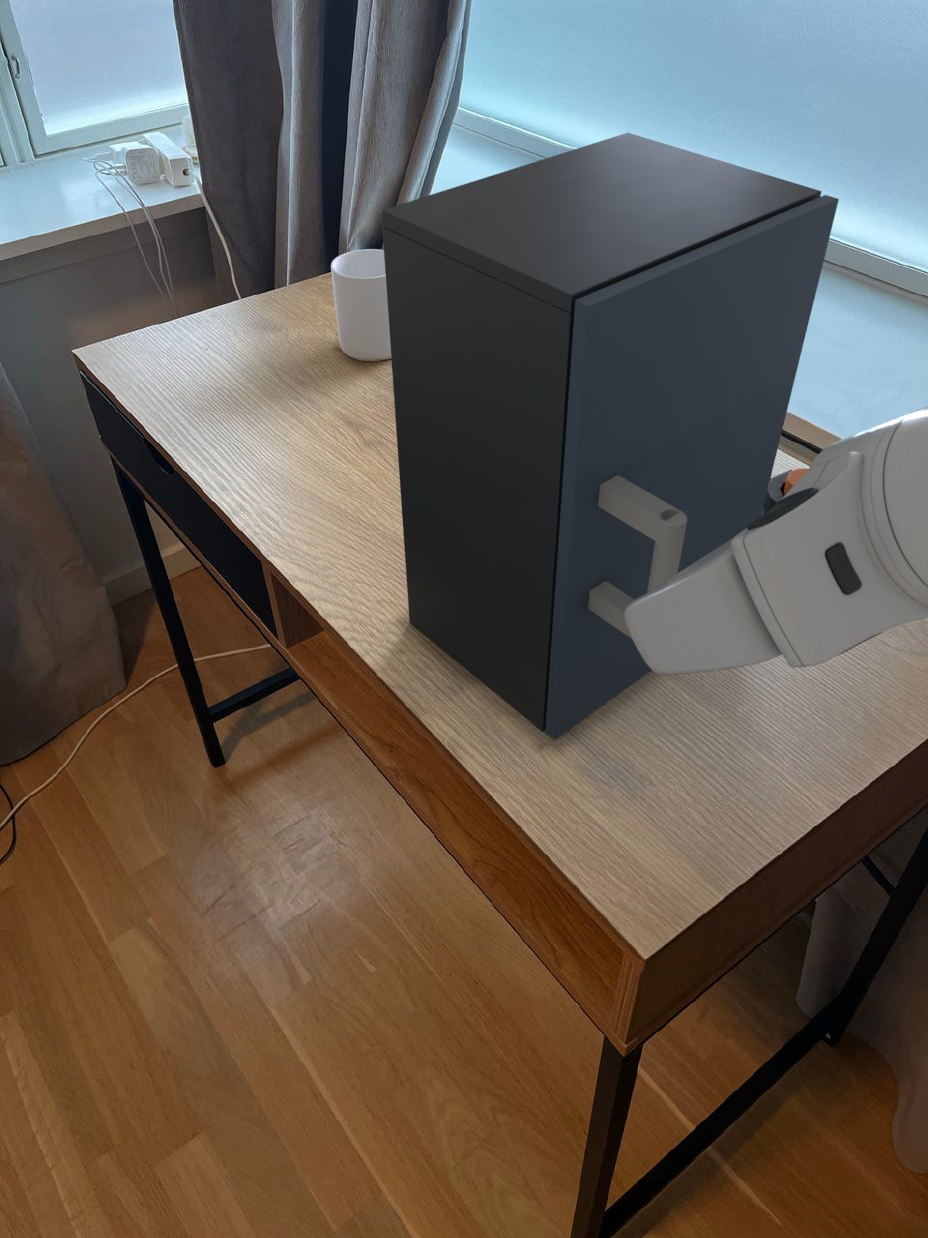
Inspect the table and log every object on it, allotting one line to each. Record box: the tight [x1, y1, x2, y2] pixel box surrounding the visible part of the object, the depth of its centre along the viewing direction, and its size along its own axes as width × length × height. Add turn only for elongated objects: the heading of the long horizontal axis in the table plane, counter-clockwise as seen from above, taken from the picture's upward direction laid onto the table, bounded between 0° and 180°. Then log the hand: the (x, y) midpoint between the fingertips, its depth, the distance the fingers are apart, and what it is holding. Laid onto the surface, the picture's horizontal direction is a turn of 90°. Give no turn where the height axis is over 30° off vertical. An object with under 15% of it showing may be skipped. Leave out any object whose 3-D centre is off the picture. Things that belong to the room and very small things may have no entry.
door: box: [544, 194, 840, 741], centre depth 64 cm, size 7×22×34 cm, turn 131°
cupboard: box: [380, 132, 822, 732], centre depth 70 cm, size 16×22×34 cm
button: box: [784, 468, 809, 496], centre depth 87 cm, size 4×4×2 cm
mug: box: [330, 248, 391, 362], centre depth 115 cm, size 12×8×10 cm
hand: (694, 578), depth 56 cm, fingers open, 8 cm apart
